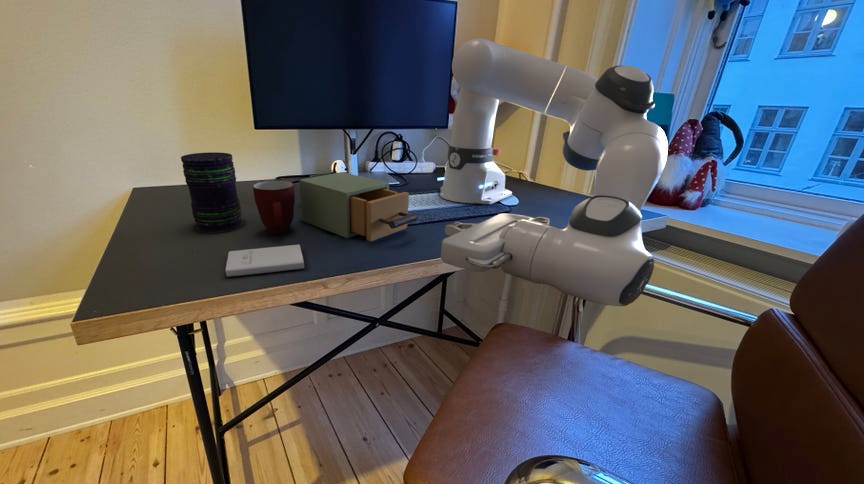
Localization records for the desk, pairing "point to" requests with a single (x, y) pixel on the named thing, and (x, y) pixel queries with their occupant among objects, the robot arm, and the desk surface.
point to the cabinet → (333, 200)
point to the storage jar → (212, 191)
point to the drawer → (379, 213)
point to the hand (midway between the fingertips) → (449, 227)
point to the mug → (275, 204)
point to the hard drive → (264, 260)
